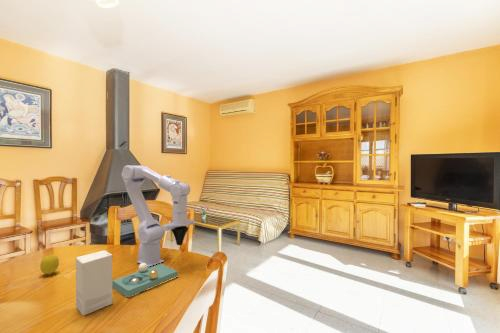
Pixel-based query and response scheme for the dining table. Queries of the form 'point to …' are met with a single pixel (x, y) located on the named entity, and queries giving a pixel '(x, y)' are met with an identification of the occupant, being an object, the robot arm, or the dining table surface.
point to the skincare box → (93, 281)
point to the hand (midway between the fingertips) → (179, 244)
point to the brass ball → (153, 274)
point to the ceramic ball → (143, 267)
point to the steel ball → (134, 280)
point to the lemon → (49, 264)
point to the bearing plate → (143, 280)
